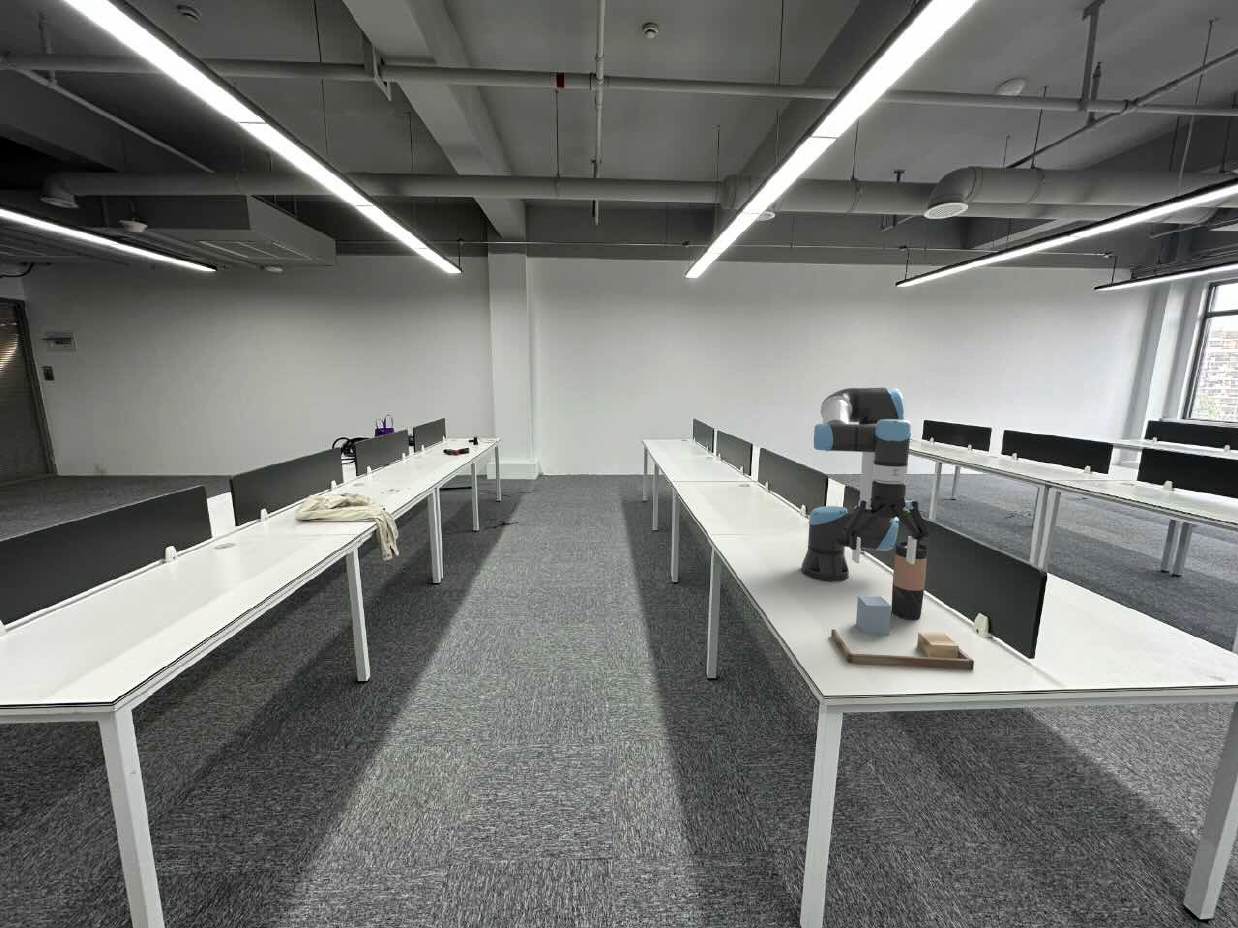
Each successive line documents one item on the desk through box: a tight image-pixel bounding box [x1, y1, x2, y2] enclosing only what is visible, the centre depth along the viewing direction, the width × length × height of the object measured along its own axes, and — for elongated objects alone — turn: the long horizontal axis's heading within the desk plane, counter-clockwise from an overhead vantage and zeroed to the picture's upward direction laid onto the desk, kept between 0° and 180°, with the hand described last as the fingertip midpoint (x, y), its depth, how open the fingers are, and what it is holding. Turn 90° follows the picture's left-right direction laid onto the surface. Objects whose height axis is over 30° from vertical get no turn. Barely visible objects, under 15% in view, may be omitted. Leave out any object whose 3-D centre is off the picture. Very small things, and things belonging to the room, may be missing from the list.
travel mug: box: [891, 541, 928, 621], centre depth 135 cm, size 8×8×20 cm
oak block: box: [916, 631, 960, 659], centre depth 116 cm, size 6×6×4 cm
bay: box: [830, 629, 975, 670], centre depth 117 cm, size 12×27×2 cm, turn 84°
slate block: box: [855, 595, 892, 637], centre depth 127 cm, size 6×6×8 cm
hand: (882, 562), depth 124 cm, fingers open, 13 cm apart
